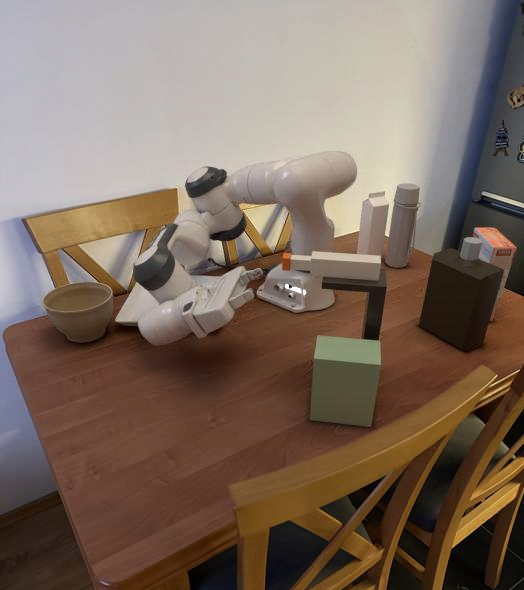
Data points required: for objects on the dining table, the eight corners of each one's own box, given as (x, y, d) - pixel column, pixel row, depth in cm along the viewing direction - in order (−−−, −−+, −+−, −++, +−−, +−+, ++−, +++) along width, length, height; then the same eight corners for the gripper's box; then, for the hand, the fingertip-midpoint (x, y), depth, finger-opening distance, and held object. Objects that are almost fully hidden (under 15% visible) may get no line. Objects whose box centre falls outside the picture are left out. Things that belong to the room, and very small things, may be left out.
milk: (381, 261, 161) (391, 193, 149) (365, 264, 159) (374, 196, 147) (370, 254, 166) (379, 188, 153) (355, 257, 164) (363, 190, 151)
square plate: (115, 333, 124) (112, 320, 122) (142, 285, 147) (140, 273, 145) (221, 335, 123) (220, 322, 121) (232, 286, 146) (231, 274, 144)
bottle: (465, 354, 116) (493, 256, 102) (414, 325, 127) (432, 233, 113) (486, 344, 119) (516, 248, 105) (435, 317, 131) (455, 226, 117)
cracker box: (495, 322, 128) (518, 247, 117) (471, 322, 128) (492, 246, 117) (477, 297, 140) (496, 226, 128) (456, 297, 140) (473, 226, 128)
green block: (309, 420, 97) (313, 358, 89) (313, 394, 104) (317, 335, 95) (371, 427, 95) (381, 364, 87) (370, 401, 102) (380, 340, 94)
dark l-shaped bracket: (314, 386, 106) (321, 281, 92) (317, 365, 113) (324, 264, 99) (370, 392, 104) (387, 286, 90) (370, 370, 111) (385, 268, 97)
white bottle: (281, 273, 95) (282, 256, 93) (284, 266, 98) (284, 249, 96) (378, 280, 92) (381, 263, 90) (378, 272, 95) (380, 255, 93)
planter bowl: (127, 339, 122) (120, 300, 116) (61, 358, 115) (49, 318, 109) (109, 312, 134) (102, 275, 128) (47, 327, 127) (36, 290, 121)
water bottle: (379, 263, 160) (390, 185, 146) (395, 257, 163) (407, 181, 149) (401, 273, 153) (414, 192, 139) (417, 267, 157) (432, 188, 143)
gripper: (222, 296, 115) (272, 273, 109) (197, 343, 98) (255, 318, 92) (207, 274, 112) (258, 249, 106) (179, 318, 95) (238, 291, 90)
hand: (257, 281), depth 99 cm, fingers open, 8 cm apart
